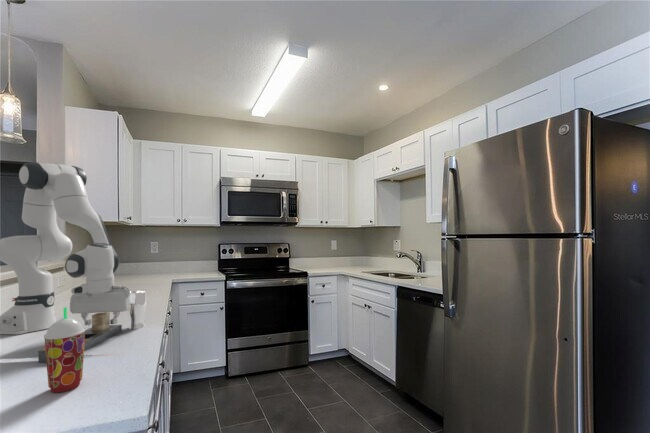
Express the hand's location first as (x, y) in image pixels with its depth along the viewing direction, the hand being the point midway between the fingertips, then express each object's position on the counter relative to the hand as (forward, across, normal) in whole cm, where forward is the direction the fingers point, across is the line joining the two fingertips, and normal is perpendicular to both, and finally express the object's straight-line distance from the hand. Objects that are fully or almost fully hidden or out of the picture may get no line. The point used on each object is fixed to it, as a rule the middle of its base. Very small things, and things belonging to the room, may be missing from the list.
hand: (100, 324), depth 126 cm
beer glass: (+5, -8, -10) cm, 14 cm away
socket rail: (+5, 0, +9) cm, 10 cm away
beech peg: (+4, 0, 0) cm, 4 cm away
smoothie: (+5, -16, +41) cm, 44 cm away
